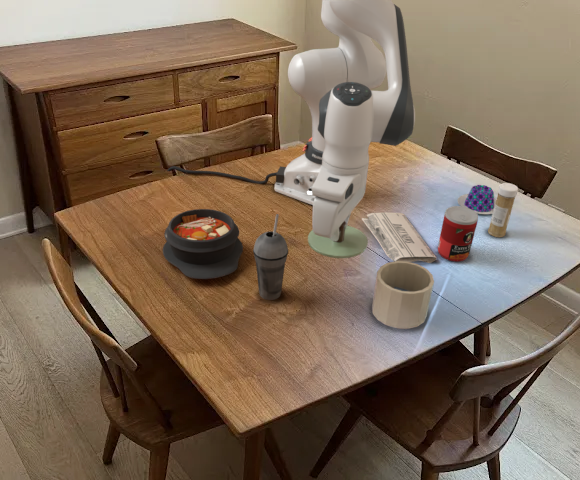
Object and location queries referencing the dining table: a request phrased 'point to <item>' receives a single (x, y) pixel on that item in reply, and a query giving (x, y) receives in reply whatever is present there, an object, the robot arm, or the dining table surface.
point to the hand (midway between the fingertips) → (338, 234)
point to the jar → (402, 294)
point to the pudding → (479, 199)
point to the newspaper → (398, 237)
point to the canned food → (457, 233)
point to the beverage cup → (270, 262)
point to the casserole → (203, 243)
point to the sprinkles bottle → (502, 209)
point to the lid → (340, 243)
